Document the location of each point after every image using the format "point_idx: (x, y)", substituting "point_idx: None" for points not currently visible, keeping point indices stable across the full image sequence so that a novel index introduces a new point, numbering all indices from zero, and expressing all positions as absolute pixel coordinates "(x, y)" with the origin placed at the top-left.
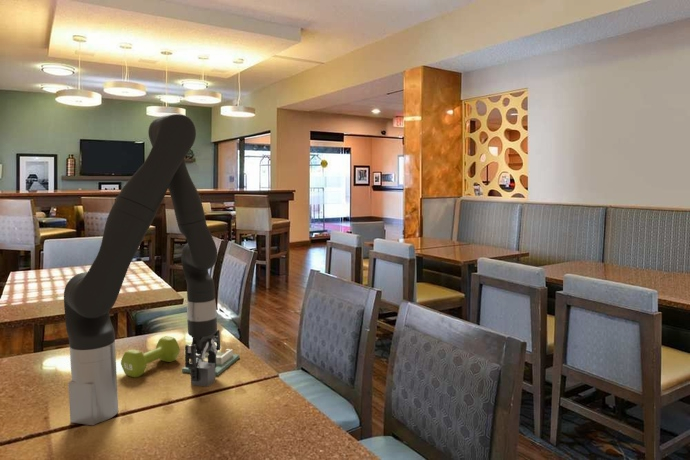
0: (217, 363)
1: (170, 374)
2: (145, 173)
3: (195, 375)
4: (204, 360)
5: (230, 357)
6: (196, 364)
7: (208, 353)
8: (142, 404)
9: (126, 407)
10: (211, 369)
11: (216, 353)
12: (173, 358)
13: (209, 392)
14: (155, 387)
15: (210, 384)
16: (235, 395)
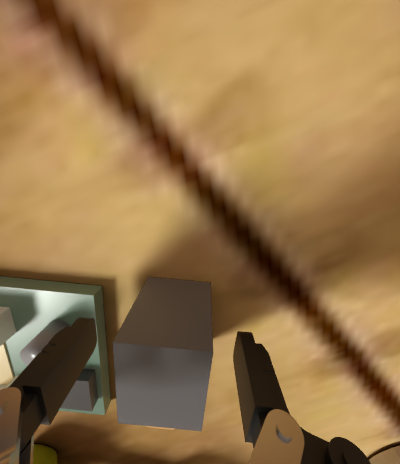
0: (11, 326)
1: None
2: None
3: (274, 373)
4: (7, 378)
5: None
6: (300, 458)
7: (32, 437)
8: (356, 411)
9: (372, 435)
10: (167, 328)
11: (6, 397)
12: (41, 459)
13: (263, 258)
14: (237, 422)
15: (190, 281)
16: (291, 123)
